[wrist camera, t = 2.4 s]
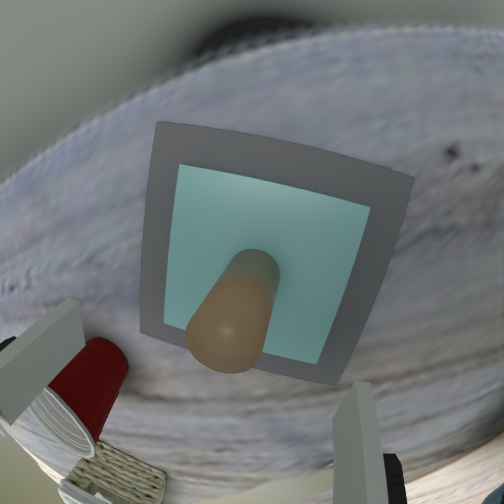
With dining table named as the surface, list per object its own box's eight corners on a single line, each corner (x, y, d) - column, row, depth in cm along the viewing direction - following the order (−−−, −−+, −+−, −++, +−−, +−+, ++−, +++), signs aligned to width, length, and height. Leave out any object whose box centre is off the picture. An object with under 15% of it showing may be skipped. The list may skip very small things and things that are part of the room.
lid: (367, 204, 21) (410, 247, 12) (316, 357, 26) (313, 446, 16) (184, 163, 22) (106, 177, 13) (167, 317, 27) (113, 386, 18)
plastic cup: (81, 298, 29) (8, 357, 18) (159, 358, 30) (103, 440, 19) (67, 352, 33) (13, 405, 22) (131, 401, 34) (87, 467, 23)
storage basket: (91, 430, 40) (51, 488, 26) (176, 472, 39) (146, 539, 25) (101, 476, 49) (76, 518, 35) (165, 506, 48) (144, 553, 34)
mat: (412, 177, 20) (414, 177, 19) (335, 383, 27) (335, 386, 26) (159, 121, 22) (156, 121, 21) (141, 330, 29) (140, 332, 28)
